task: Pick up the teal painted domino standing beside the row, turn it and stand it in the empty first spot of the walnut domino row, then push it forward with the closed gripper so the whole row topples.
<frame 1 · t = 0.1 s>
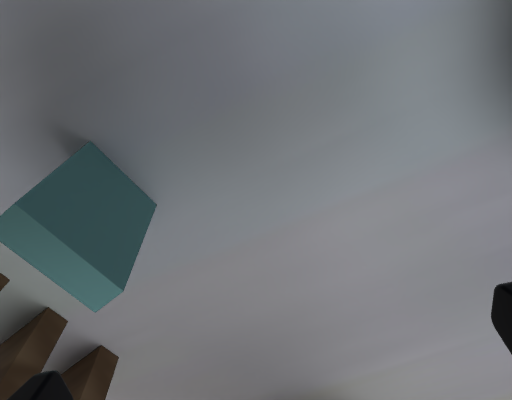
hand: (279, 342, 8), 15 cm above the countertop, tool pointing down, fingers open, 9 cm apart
tile 3: (33, 333, 25), on the countertop
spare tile: (114, 182, 21), on the countertop
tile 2: (85, 369, 27), on the countertop
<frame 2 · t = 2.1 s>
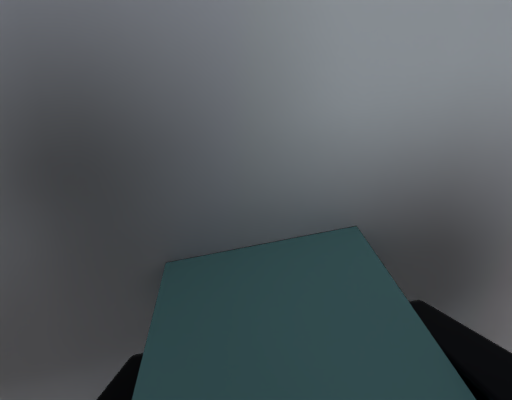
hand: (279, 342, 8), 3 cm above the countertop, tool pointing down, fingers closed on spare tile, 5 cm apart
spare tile: (266, 269, 10), on the countertop, touching gripper
when the fingers open (4 cm above the countertop, at t = 7.4 s): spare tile drops 1 cm, on the countertop.
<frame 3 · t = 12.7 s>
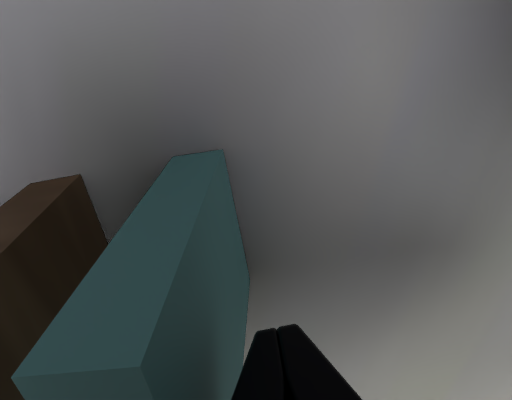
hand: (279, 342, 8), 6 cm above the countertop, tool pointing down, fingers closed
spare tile: (214, 222, 13), on the countertop, tilted 7°, touching gripper
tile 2: (83, 245, 13), on the countertop
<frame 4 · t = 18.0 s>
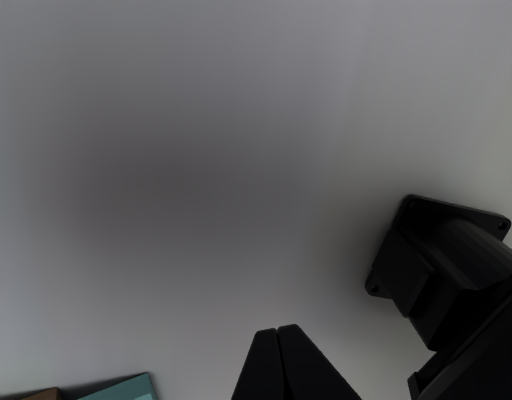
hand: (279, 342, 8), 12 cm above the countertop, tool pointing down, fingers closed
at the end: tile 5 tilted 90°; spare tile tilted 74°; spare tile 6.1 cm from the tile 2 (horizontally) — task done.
